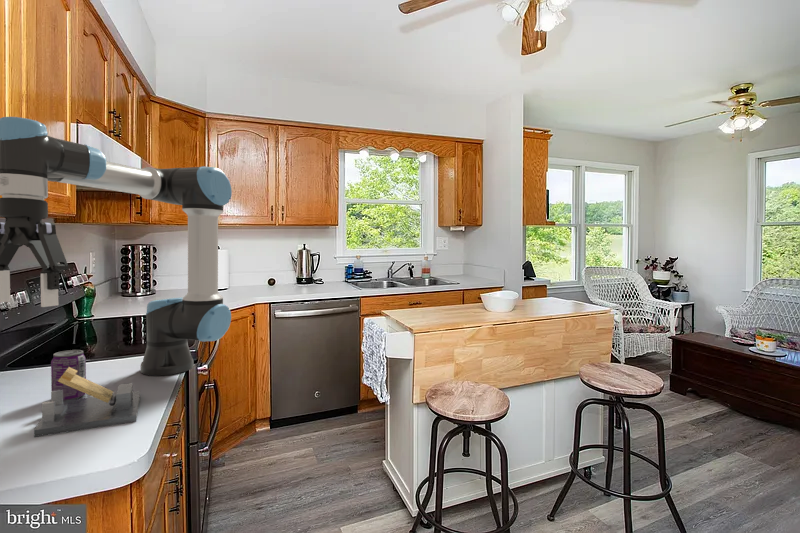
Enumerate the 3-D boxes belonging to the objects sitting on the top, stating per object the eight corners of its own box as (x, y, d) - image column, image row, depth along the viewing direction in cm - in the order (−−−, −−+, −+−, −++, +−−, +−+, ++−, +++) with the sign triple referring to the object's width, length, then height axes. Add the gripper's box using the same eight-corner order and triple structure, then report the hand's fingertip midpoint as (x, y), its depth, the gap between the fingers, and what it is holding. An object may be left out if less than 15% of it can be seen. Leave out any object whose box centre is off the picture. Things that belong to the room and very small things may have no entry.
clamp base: (54, 407, 103) (53, 385, 103) (140, 396, 112) (140, 376, 112) (34, 437, 87) (33, 411, 87) (136, 421, 96) (136, 397, 96)
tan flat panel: (63, 373, 99) (70, 365, 100) (116, 397, 105) (122, 388, 105) (56, 382, 93) (64, 373, 94) (113, 406, 99) (119, 397, 99)
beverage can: (81, 391, 115) (81, 348, 114) (89, 397, 110) (89, 352, 110) (48, 398, 109) (47, 352, 109) (55, 405, 105) (54, 357, 104)
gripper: (-44, 196, 84) (-41, 303, 85) (48, 195, 77) (50, 310, 78) (1, 201, 91) (3, 298, 92) (89, 199, 84) (90, 305, 85)
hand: (25, 304), depth 85 cm, fingers open, 13 cm apart
